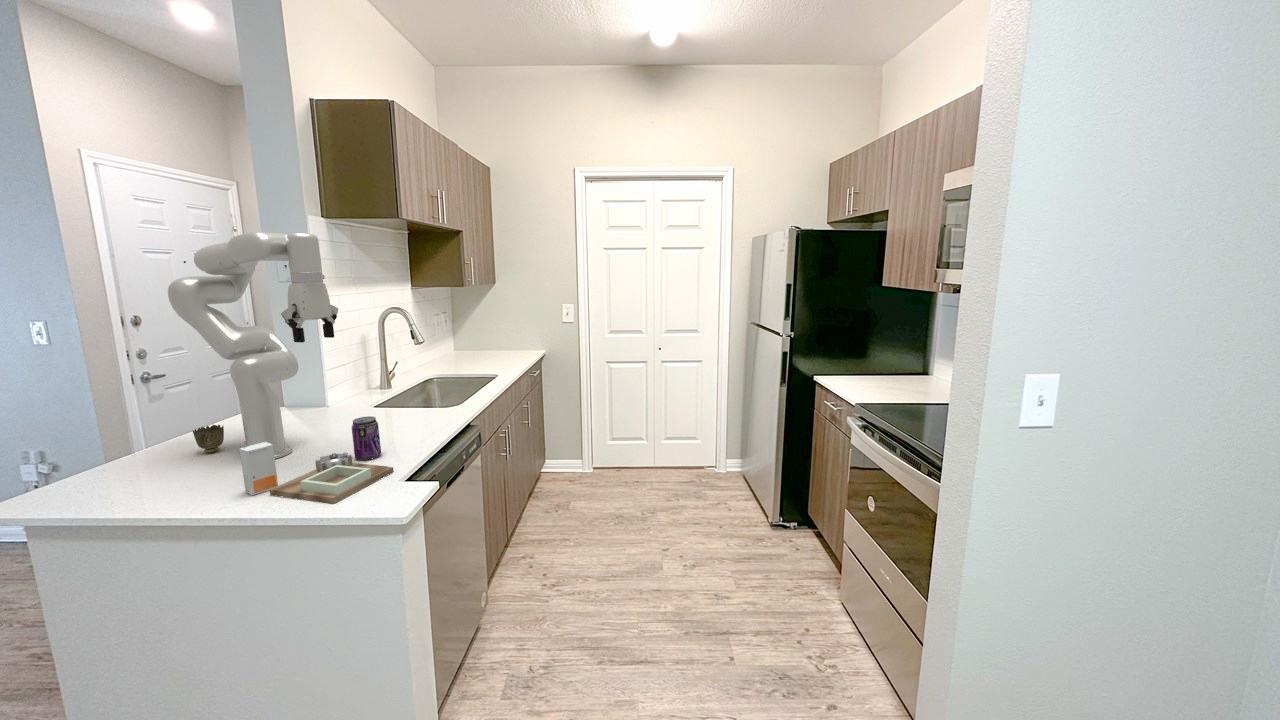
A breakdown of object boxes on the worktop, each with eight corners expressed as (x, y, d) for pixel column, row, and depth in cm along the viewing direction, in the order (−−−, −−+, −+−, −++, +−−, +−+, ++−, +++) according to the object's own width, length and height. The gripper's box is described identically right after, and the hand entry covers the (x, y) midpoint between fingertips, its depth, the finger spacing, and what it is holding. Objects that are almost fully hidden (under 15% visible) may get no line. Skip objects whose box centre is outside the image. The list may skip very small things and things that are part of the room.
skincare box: (252, 496, 126) (245, 451, 124) (245, 492, 128) (238, 448, 126) (279, 487, 131) (273, 444, 129) (272, 484, 133) (265, 441, 131)
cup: (191, 454, 156) (187, 430, 154) (218, 446, 162) (214, 423, 161) (205, 457, 153) (201, 432, 151) (232, 449, 160) (228, 425, 158)
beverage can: (370, 462, 148) (365, 423, 146) (349, 460, 150) (345, 422, 147) (386, 453, 155) (382, 416, 153) (366, 452, 156) (362, 415, 154)
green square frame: (301, 490, 126) (300, 481, 125) (337, 473, 136) (336, 464, 136) (337, 495, 123) (335, 485, 122) (371, 477, 133) (370, 468, 133)
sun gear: (309, 472, 137) (307, 459, 136) (335, 461, 145) (333, 448, 144) (334, 475, 135) (333, 462, 134) (359, 463, 143) (358, 451, 142)
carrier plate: (270, 495, 127) (269, 489, 126) (335, 465, 146) (335, 460, 145) (334, 503, 122) (333, 498, 121) (393, 472, 141) (393, 467, 140)
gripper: (323, 278, 148) (329, 335, 151) (266, 279, 132) (275, 343, 135) (343, 278, 146) (350, 336, 149) (289, 279, 130) (297, 344, 133)
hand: (314, 339), depth 142 cm, fingers open, 9 cm apart
